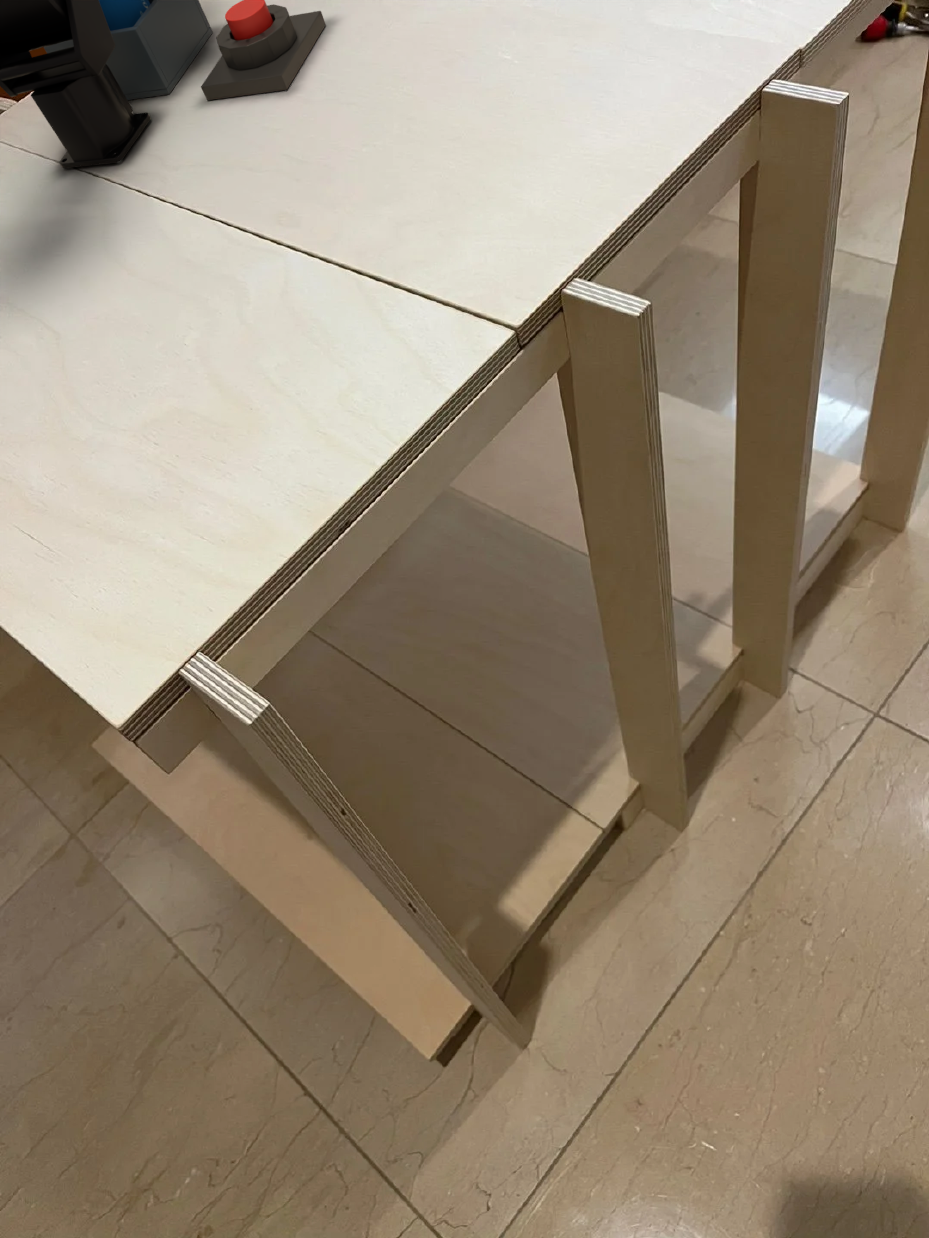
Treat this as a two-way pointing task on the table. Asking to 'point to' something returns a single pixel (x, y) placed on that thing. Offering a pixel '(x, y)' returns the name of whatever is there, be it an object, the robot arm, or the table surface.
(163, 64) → the basket
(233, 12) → the button
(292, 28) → the panel
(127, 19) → the beverage can
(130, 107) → the robot arm
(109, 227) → the table surface
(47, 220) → the table surface
